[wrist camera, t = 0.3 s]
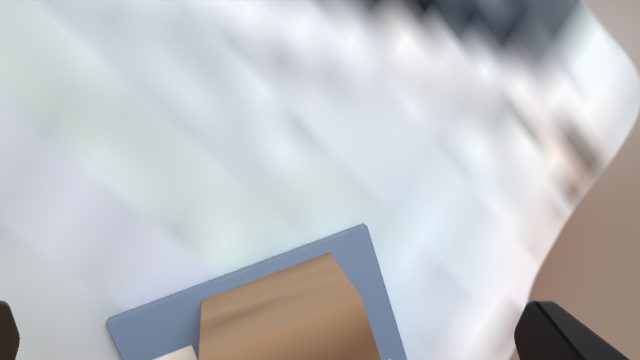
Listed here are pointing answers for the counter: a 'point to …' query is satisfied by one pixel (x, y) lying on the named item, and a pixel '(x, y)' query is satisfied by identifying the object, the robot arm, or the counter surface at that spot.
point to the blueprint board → (185, 306)
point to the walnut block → (289, 317)
